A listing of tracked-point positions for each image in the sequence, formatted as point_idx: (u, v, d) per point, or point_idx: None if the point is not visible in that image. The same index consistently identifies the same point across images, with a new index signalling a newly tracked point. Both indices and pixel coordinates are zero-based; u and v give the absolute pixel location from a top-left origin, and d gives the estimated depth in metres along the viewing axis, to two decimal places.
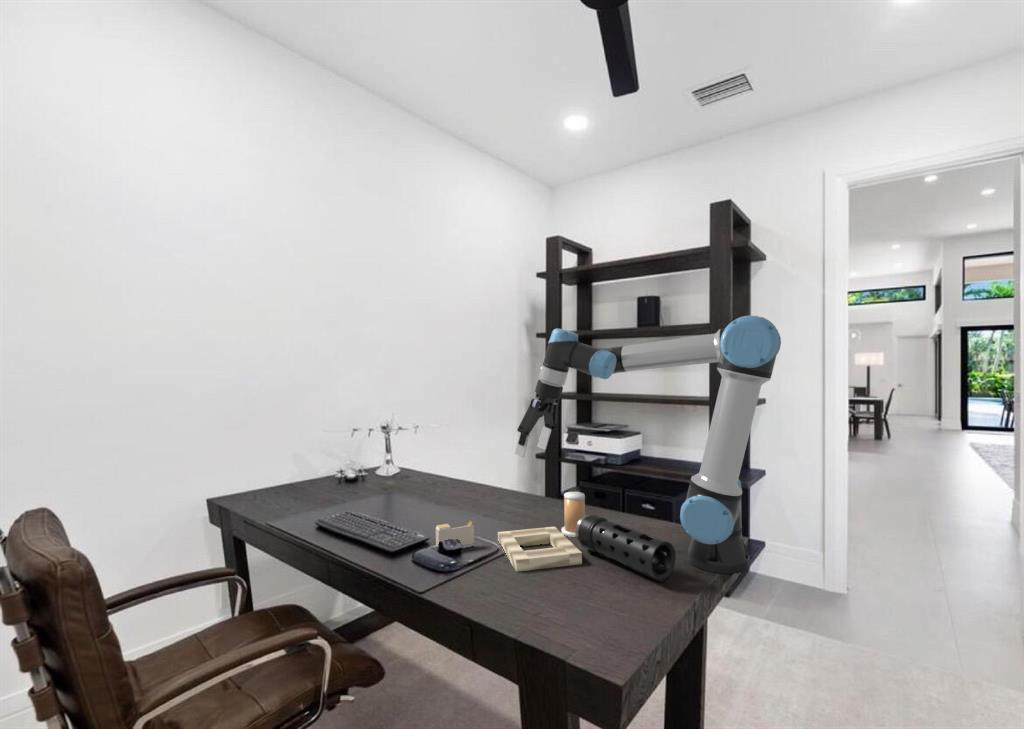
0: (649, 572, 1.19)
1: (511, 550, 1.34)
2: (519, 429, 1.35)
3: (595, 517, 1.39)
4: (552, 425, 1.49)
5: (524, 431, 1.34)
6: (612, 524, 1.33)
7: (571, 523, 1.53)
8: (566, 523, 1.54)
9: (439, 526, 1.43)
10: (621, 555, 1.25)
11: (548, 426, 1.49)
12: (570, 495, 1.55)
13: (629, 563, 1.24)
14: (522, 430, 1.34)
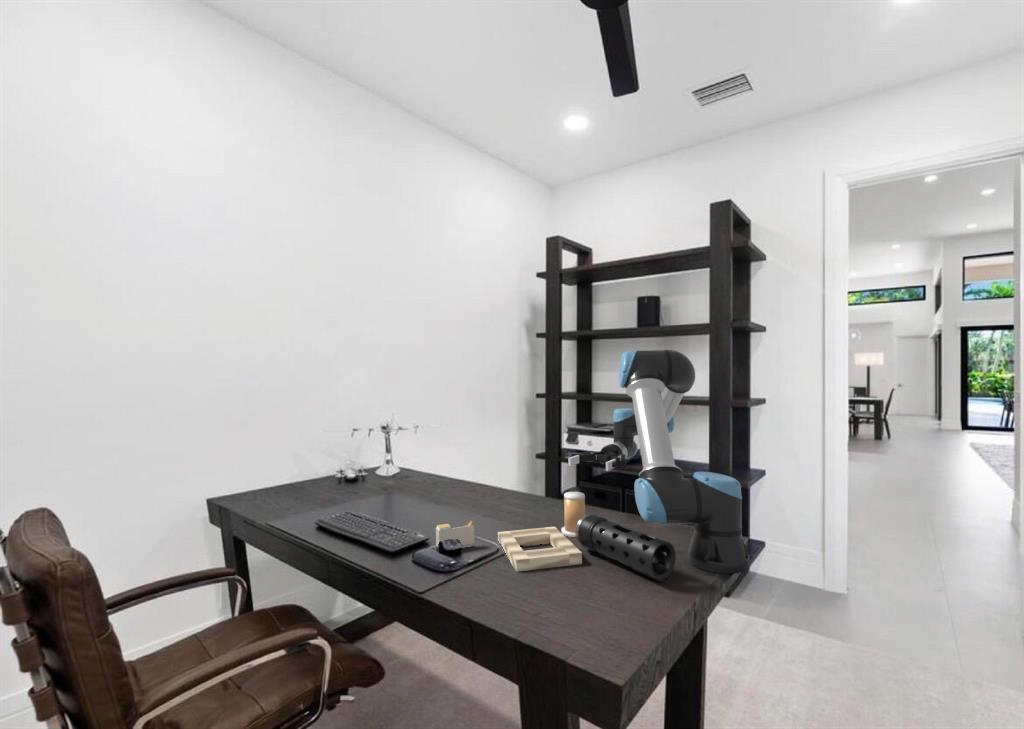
0: (649, 572, 1.19)
1: (511, 550, 1.34)
2: None
3: (595, 517, 1.39)
4: None
5: None
6: (612, 524, 1.34)
7: (571, 523, 1.53)
8: (566, 523, 1.54)
9: (439, 526, 1.43)
10: (621, 555, 1.25)
11: None
12: (570, 495, 1.55)
13: (629, 563, 1.24)
14: None
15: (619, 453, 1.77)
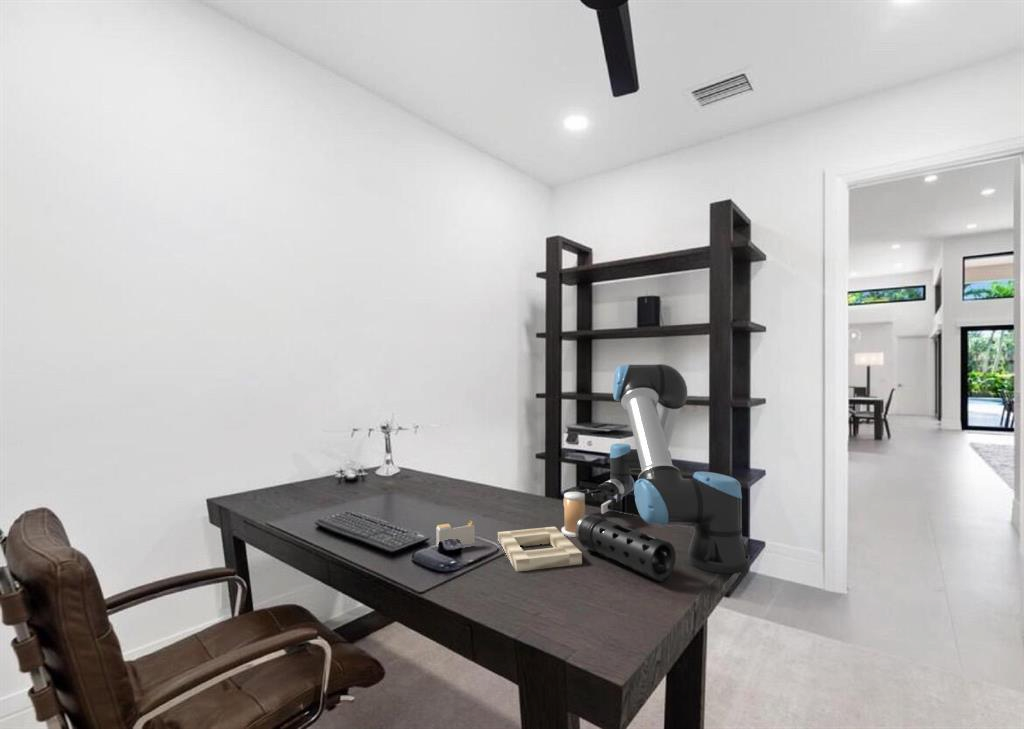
0: (649, 572, 1.19)
1: (511, 550, 1.34)
2: None
3: (595, 517, 1.39)
4: None
5: None
6: (612, 524, 1.34)
7: (571, 523, 1.53)
8: (566, 523, 1.54)
9: (440, 526, 1.43)
10: (621, 555, 1.25)
11: None
12: (570, 495, 1.55)
13: (629, 563, 1.24)
14: None
15: (615, 492, 1.74)
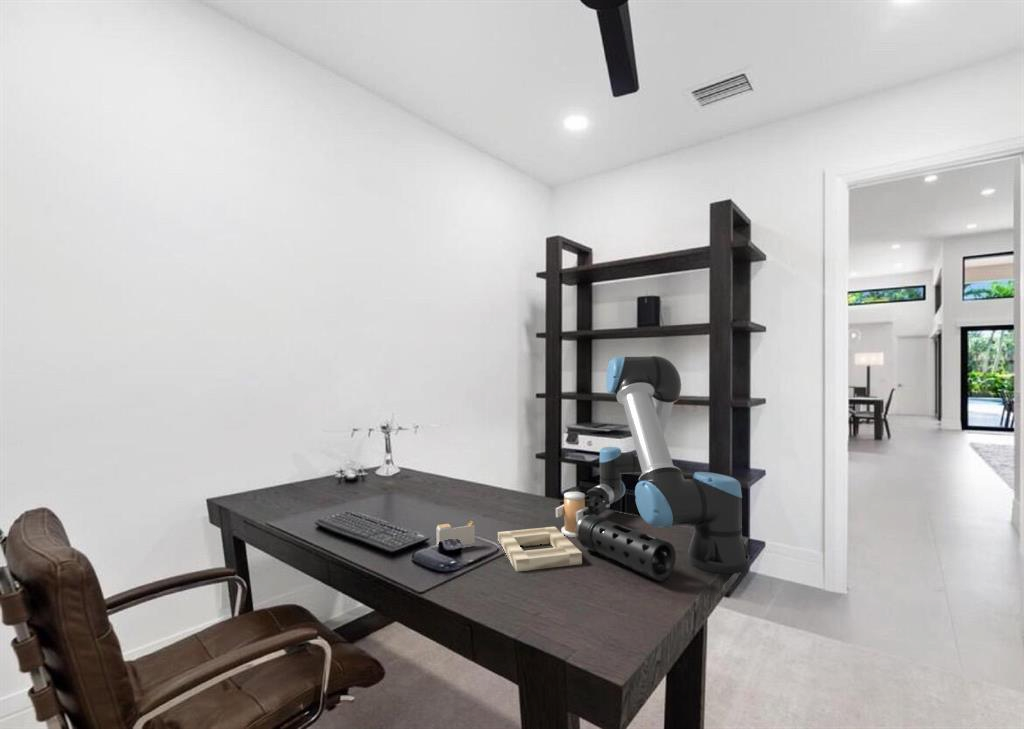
0: (649, 572, 1.19)
1: (511, 550, 1.34)
2: None
3: (595, 517, 1.39)
4: None
5: None
6: (612, 524, 1.33)
7: (571, 523, 1.53)
8: (566, 523, 1.54)
9: (440, 526, 1.43)
10: (621, 555, 1.25)
11: None
12: (570, 495, 1.55)
13: (629, 563, 1.24)
14: None
15: (605, 498, 1.66)
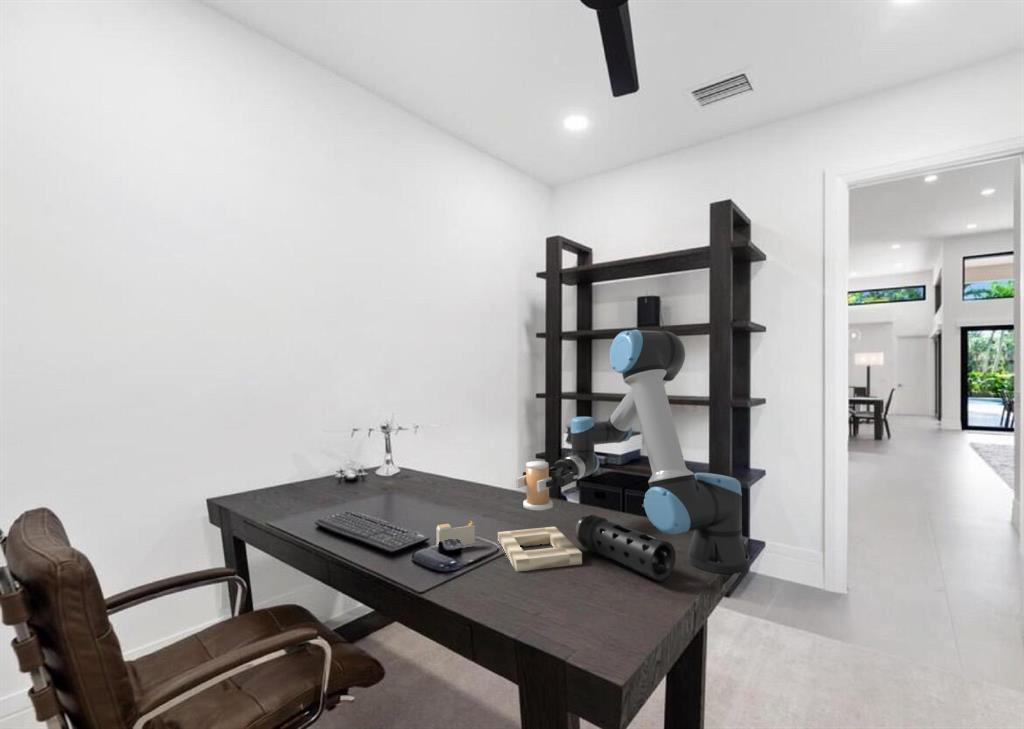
0: (649, 572, 1.19)
1: (511, 550, 1.34)
2: None
3: (595, 517, 1.39)
4: None
5: None
6: (612, 524, 1.34)
7: (533, 494, 1.39)
8: (528, 495, 1.40)
9: (440, 526, 1.43)
10: (621, 555, 1.25)
11: None
12: (532, 464, 1.40)
13: (629, 563, 1.24)
14: None
15: (573, 469, 1.52)
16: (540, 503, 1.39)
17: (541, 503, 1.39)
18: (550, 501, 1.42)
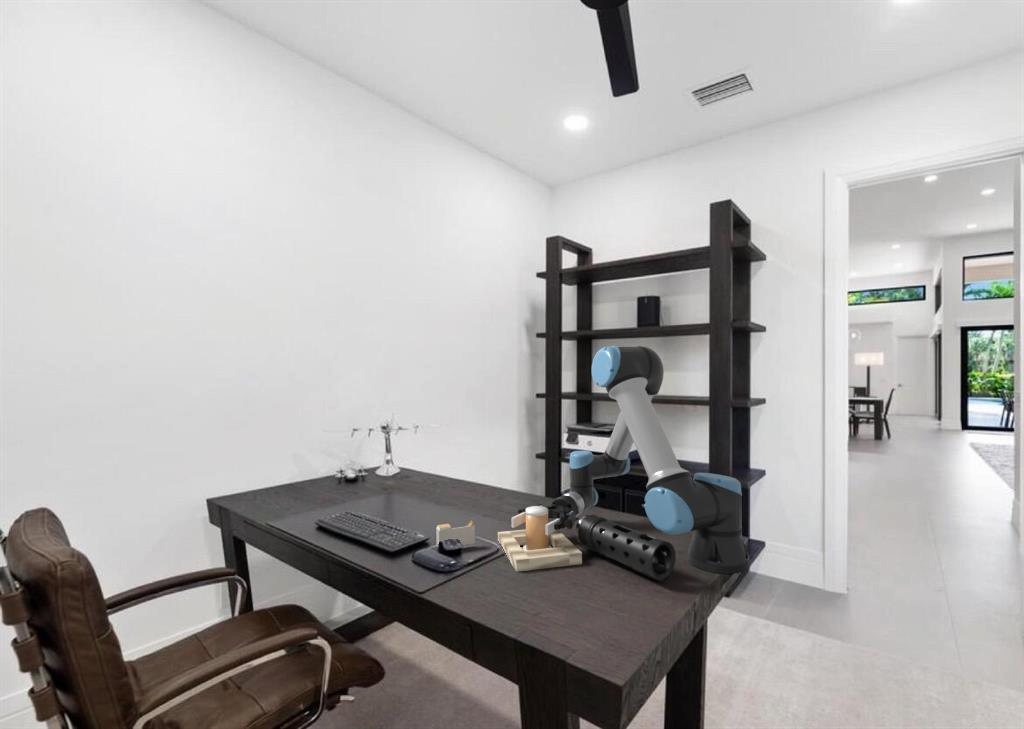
0: (649, 572, 1.19)
1: (511, 550, 1.34)
2: None
3: (595, 517, 1.39)
4: None
5: None
6: (612, 524, 1.34)
7: (532, 542, 1.37)
8: (527, 541, 1.39)
9: (440, 526, 1.43)
10: (621, 555, 1.25)
11: None
12: (532, 510, 1.39)
13: (629, 563, 1.24)
14: None
15: (573, 507, 1.51)
16: None
17: None
18: (550, 547, 1.41)
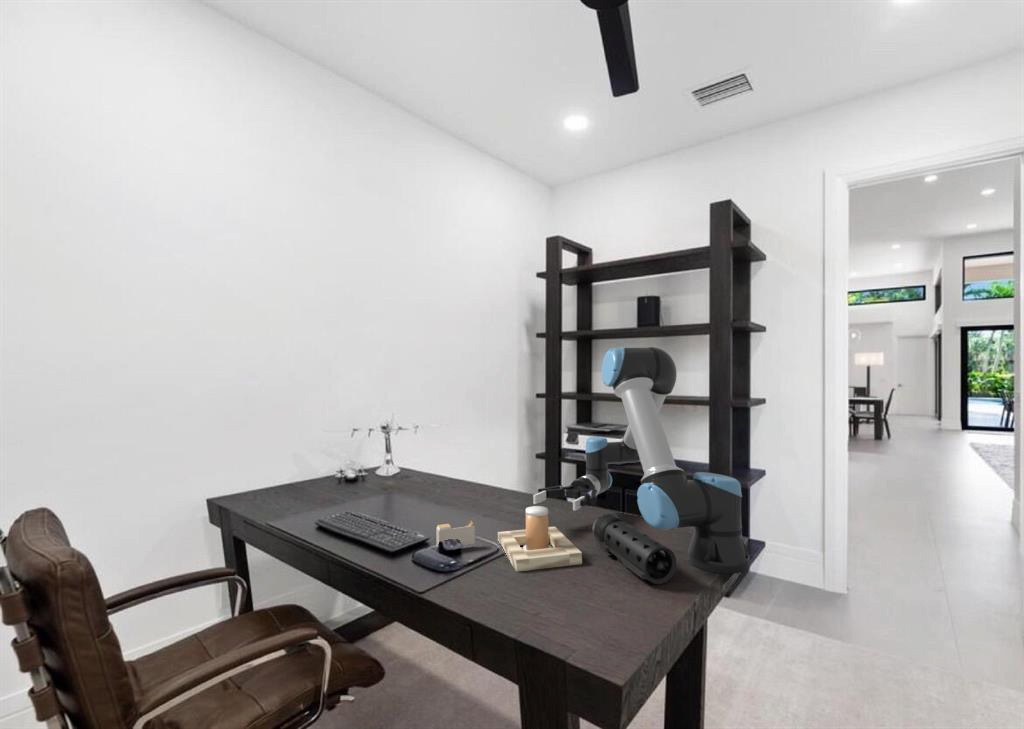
0: (644, 556, 1.19)
1: (511, 550, 1.34)
2: None
3: None
4: None
5: None
6: None
7: (532, 542, 1.37)
8: (527, 541, 1.39)
9: (440, 526, 1.43)
10: (629, 538, 1.27)
11: None
12: (532, 510, 1.39)
13: (630, 546, 1.25)
14: None
15: (590, 488, 1.62)
16: None
17: None
18: (550, 547, 1.41)
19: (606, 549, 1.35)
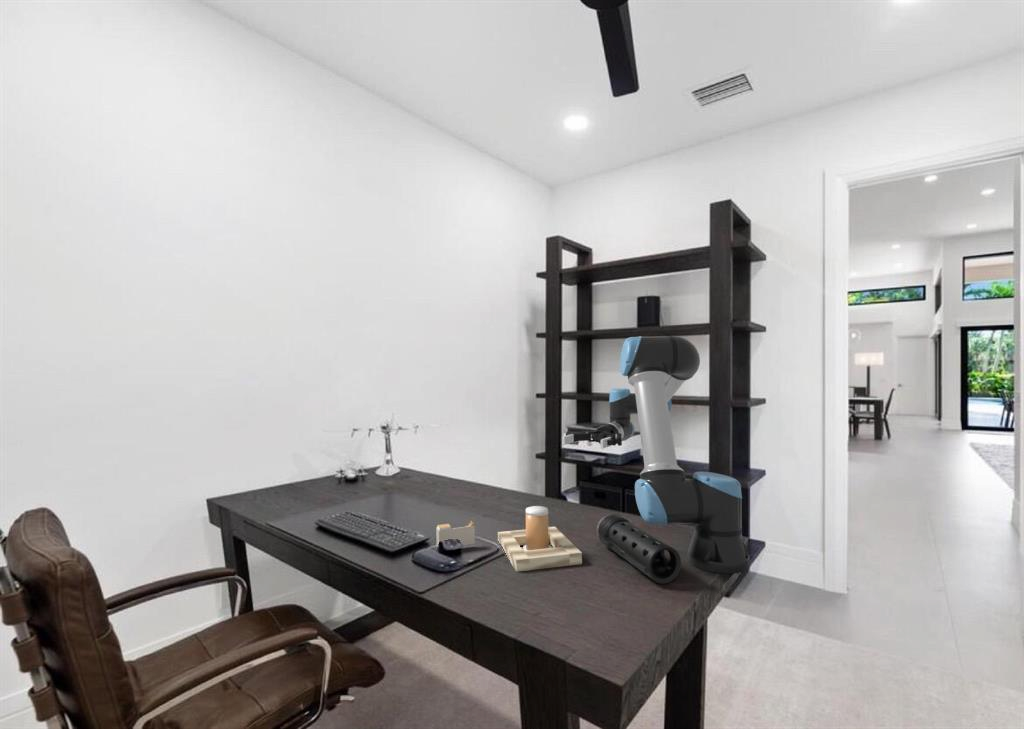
0: (652, 550, 1.19)
1: (511, 550, 1.34)
2: None
3: None
4: None
5: None
6: None
7: (532, 542, 1.37)
8: (527, 541, 1.39)
9: (440, 526, 1.43)
10: (638, 535, 1.28)
11: None
12: (532, 510, 1.39)
13: (638, 541, 1.26)
14: None
15: (615, 433, 1.71)
16: None
17: None
18: (550, 547, 1.41)
19: (609, 544, 1.35)
